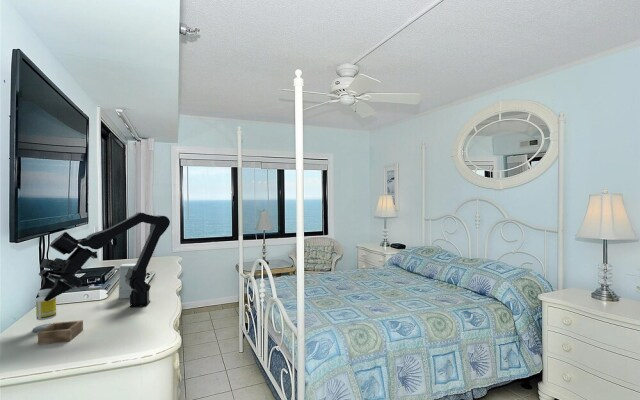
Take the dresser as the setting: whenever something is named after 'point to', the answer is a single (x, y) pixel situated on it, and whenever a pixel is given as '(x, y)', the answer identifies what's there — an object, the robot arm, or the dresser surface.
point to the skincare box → (123, 287)
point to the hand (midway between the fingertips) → (41, 299)
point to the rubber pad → (41, 327)
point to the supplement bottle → (45, 306)
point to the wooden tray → (60, 332)
